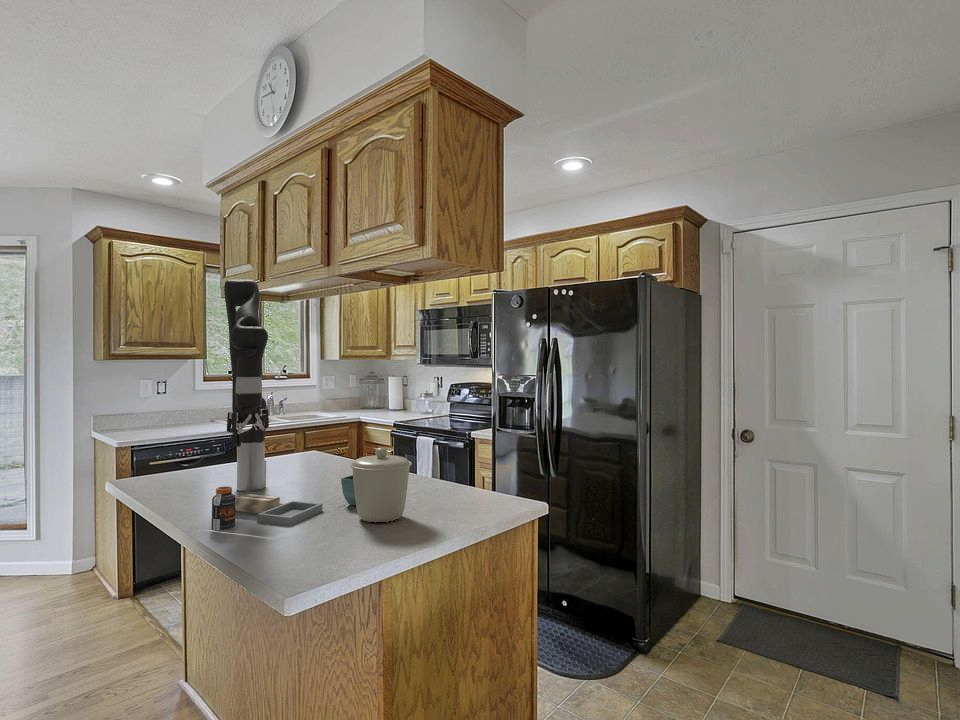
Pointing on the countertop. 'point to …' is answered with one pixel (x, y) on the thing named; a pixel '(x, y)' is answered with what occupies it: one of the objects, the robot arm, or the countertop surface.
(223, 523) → the pill bottle
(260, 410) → the robot arm
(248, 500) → the wooden block
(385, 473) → the canister
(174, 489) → the countertop surface
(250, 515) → the rubber mat
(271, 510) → the slate tray
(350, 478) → the flower pot
